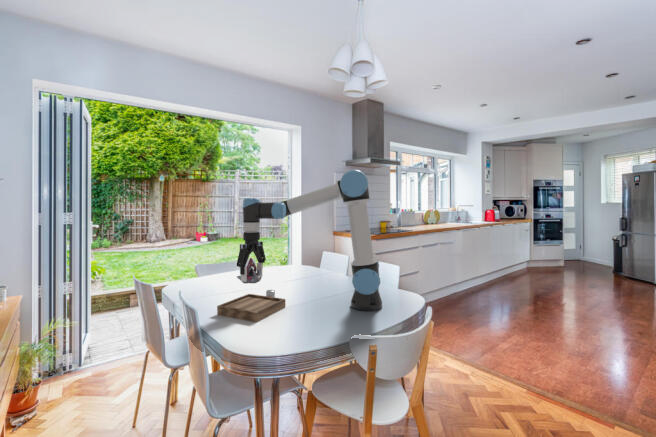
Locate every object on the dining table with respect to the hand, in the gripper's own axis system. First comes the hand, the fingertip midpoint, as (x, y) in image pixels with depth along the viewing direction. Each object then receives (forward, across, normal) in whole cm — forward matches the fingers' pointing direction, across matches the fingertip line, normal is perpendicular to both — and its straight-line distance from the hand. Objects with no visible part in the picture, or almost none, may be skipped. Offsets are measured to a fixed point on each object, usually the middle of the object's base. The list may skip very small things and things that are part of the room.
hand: (252, 278), depth 150 cm
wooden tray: (+15, 0, 0) cm, 15 cm away
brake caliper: (+2, 0, -1) cm, 2 cm away
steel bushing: (+15, -17, -2) cm, 23 cm away
